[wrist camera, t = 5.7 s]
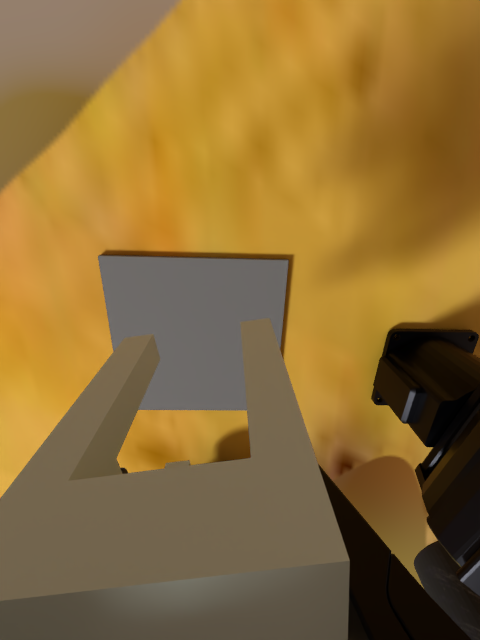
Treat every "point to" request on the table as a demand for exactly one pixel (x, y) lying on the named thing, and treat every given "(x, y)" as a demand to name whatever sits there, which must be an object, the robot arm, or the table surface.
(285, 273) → the mat
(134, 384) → the notched white block
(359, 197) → the table surface
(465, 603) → the travel mug
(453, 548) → the robot arm
